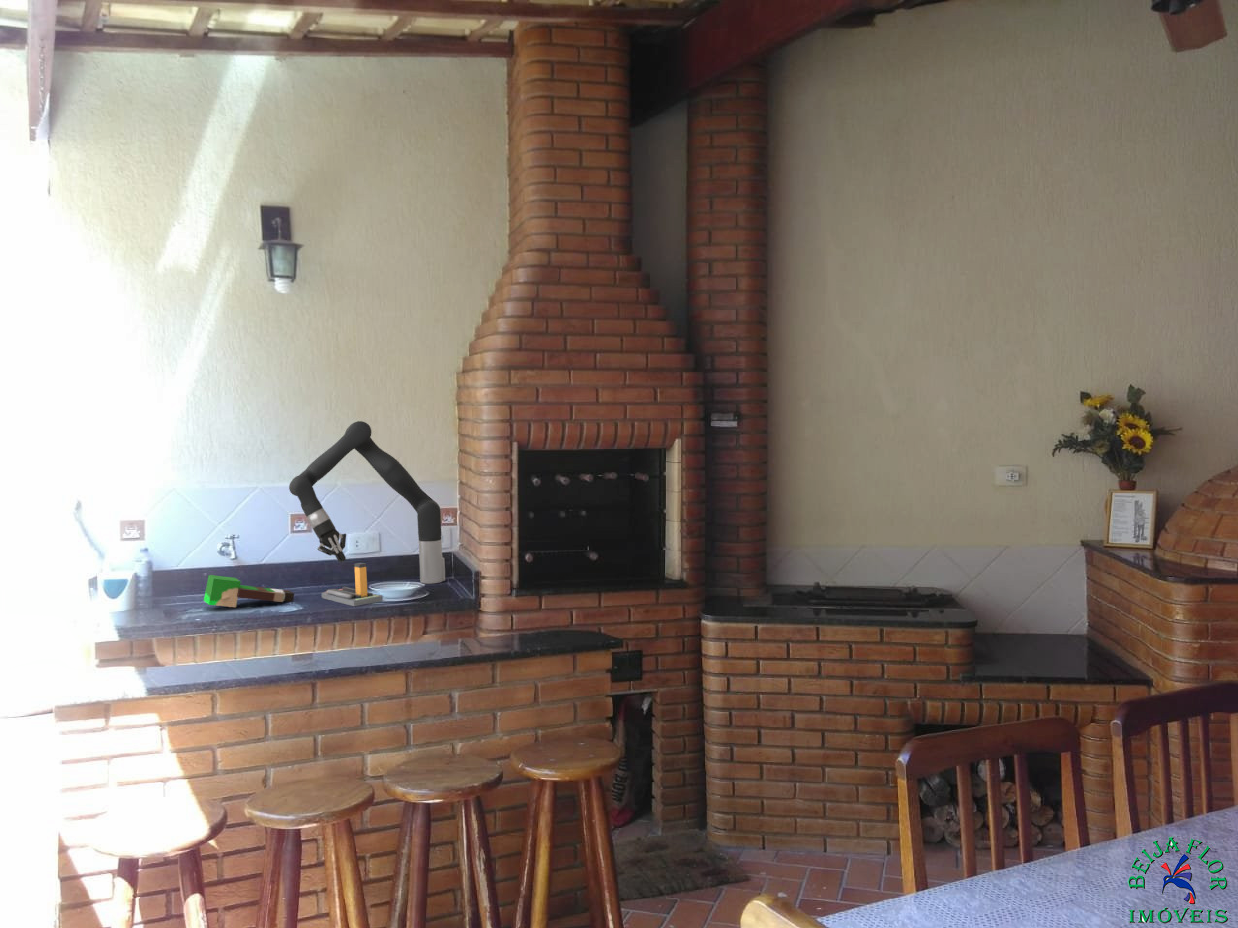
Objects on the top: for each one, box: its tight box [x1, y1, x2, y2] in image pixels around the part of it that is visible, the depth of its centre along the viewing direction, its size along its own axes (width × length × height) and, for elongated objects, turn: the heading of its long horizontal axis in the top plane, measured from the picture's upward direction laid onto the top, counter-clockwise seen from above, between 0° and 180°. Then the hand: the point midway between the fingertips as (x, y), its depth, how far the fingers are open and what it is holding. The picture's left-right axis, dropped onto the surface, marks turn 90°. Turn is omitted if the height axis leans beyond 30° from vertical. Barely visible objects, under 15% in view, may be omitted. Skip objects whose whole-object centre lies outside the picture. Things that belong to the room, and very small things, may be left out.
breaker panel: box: [321, 586, 384, 607], centre depth 402 cm, size 12×24×4 cm, turn 44°
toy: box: [203, 574, 295, 609], centre depth 397 cm, size 15×11×30 cm
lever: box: [353, 562, 368, 597], centre depth 397 cm, size 3×4×12 cm
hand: (343, 561), depth 412 cm, fingers closed
